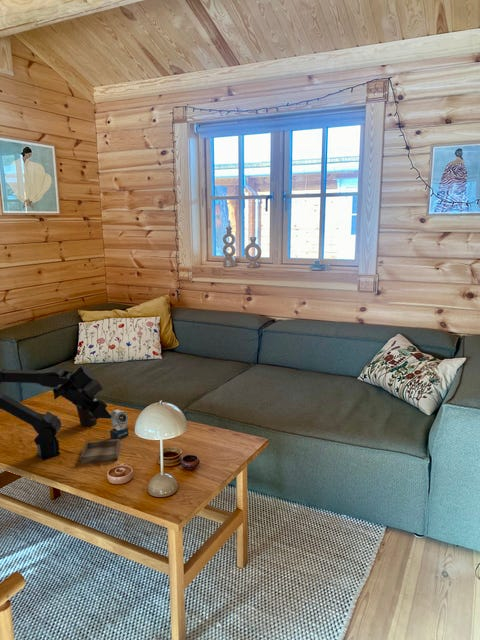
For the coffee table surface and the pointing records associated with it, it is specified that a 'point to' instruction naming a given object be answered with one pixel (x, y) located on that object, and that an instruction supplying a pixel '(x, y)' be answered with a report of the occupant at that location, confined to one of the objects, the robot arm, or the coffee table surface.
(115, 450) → the valet tray
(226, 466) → the coffee table surface
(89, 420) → the coffee mug
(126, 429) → the watch
